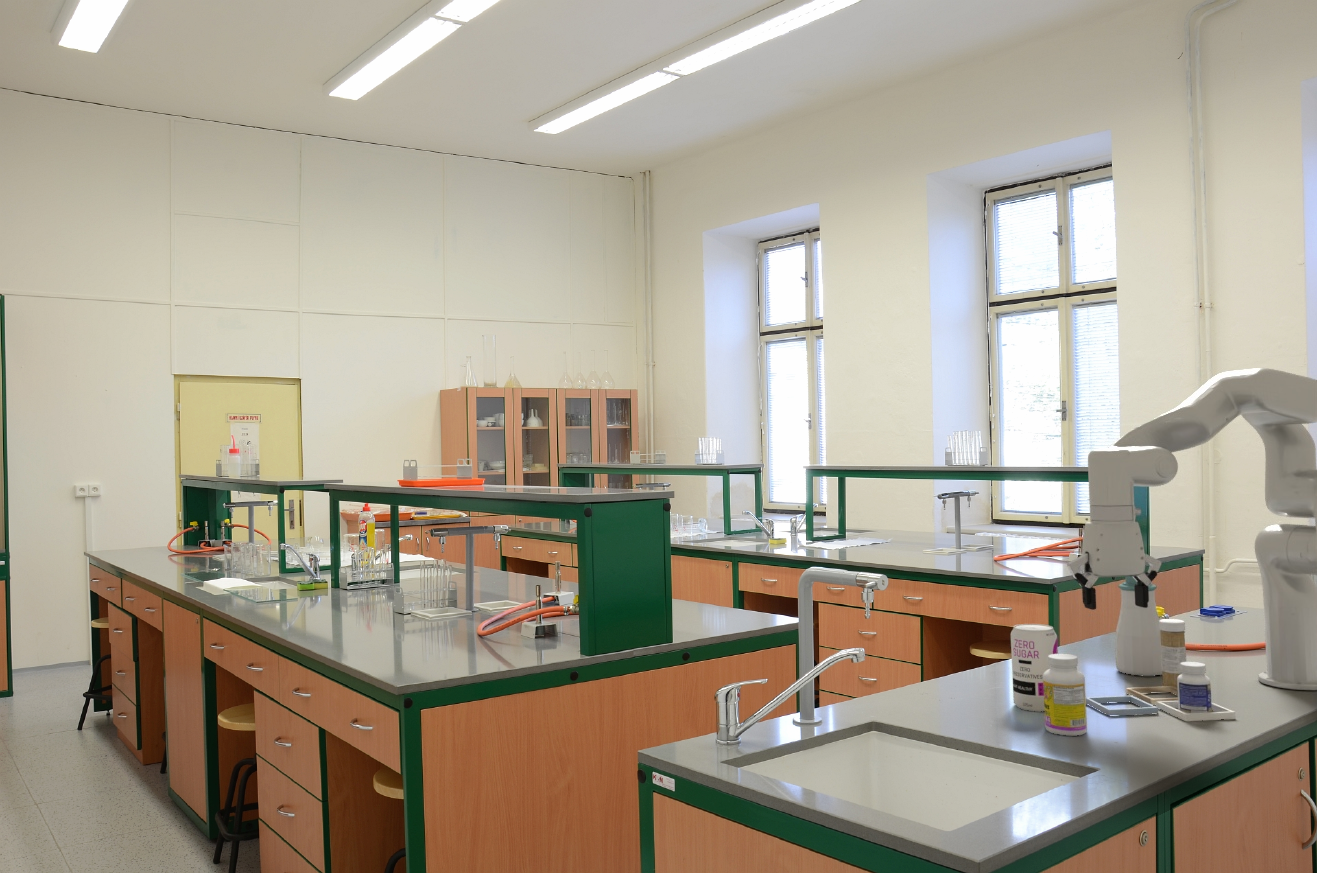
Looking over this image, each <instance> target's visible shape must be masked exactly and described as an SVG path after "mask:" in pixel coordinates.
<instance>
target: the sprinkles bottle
mask: <svg viewBox="0 0 1317 873" xmlns="http://www.w3.org/2000/svg"><path fill="white" fill-rule="evenodd" d="M1159 620H1160V621H1159V629H1160V632H1161V662H1162V674H1163V675H1162V685H1161V686H1172V687H1175V688H1177V689H1178V686H1177V678H1178V676H1179V675H1181V674H1182V672H1181V669H1180V663H1182V662H1187V648H1186V647H1187V646H1186V638H1185V633H1186V623H1185V621H1184V620H1182V619H1176V618H1163V619H1159Z"/></svg>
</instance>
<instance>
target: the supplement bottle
mask: <svg viewBox="0 0 1317 873" xmlns="http://www.w3.org/2000/svg"><path fill="white" fill-rule="evenodd" d="M1048 663H1049V665H1050V669H1048V670H1047V671H1045V673H1044V674H1043V687H1044V710H1045V712H1044V724H1045V725H1044V726H1045V729H1046V730H1047V732H1049V733H1051V734H1053V733H1054V735H1057V734H1060V735H1059V736H1063V735H1066V736H1065V737H1077V735H1079V736H1082V735H1085V734H1086V733H1087V731H1088V721H1087V720H1088V718H1087V705H1086V698H1087V697H1086V679H1085V675H1084V674H1083V672H1081V671H1080V670H1078V668H1077V667H1078V664H1079V660H1078V656H1077V655H1074V654H1069V653H1058V654H1051V655H1049V656H1048Z"/></svg>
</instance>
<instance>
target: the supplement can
mask: <svg viewBox="0 0 1317 873" xmlns="http://www.w3.org/2000/svg"><path fill="white" fill-rule="evenodd" d="M1010 647H1011V649H1010V650H1011V669H1012V672H1011V674H1012V692H1013V693H1012V694H1013V695H1012V696H1013V704H1014V705H1016V707H1017V708H1018V707H1019V708H1018V709H1020V708H1021V710H1024V711H1027V710H1029V711H1028V712H1034V711H1035V712H1037V713H1044V712H1043V711H1045V710H1044V687H1043V674H1044V673H1045V671H1047V670H1048V669H1050V665H1049V663H1048V656H1049V655H1051V654H1059V652H1058V651H1059V648H1058V647H1059V646H1058V635H1057V633H1056V631H1055V630H1054V627H1053V626H1052V625H1047V624H1043V623H1042V624H1041V623H1023V624H1022V623H1020V624H1019V623H1018V624H1016V625H1013V628H1012V630H1011V632H1010ZM1041 711H1042V712H1041ZM1035 712H1034V713H1035Z"/></svg>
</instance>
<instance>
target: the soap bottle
mask: <svg viewBox="0 0 1317 873" xmlns="http://www.w3.org/2000/svg"><path fill="white" fill-rule="evenodd" d="M1145 572H1146V570H1145V571H1144V574H1145ZM1124 578H1125V581H1123V582H1122V583H1120V584H1119V585H1118V586H1117V587H1118V588H1119V589H1120V596H1121V598H1120V599H1121V602H1120V603H1121V605H1120V611H1119V617H1118V620H1117V625H1116V630H1115V641H1114V642H1115V648H1114V649H1115V650H1114V651H1115V652H1114V653H1115V667H1116V669H1117V671H1119V672H1120V673H1121V672H1122V673H1121V674H1125V673H1126V674H1125V675H1128V674H1131V675H1130V676H1134V675H1143V676H1142V677H1155V676H1154V675H1160V676H1163V674H1162V662H1161V632H1160V629H1159V621H1160V620H1161V619H1160V617H1159V613H1158V610H1157V604H1156V595H1155V594H1156V590H1157V585H1155V584H1153V583H1152V582H1151V585H1150V586H1148V590H1149V602H1148V607H1147V608H1143V607H1139V606H1136V605H1135V589H1134V586H1135V584H1137V581H1136V580H1135V579H1134V578H1133V577H1132V576H1125V577H1124Z"/></svg>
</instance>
